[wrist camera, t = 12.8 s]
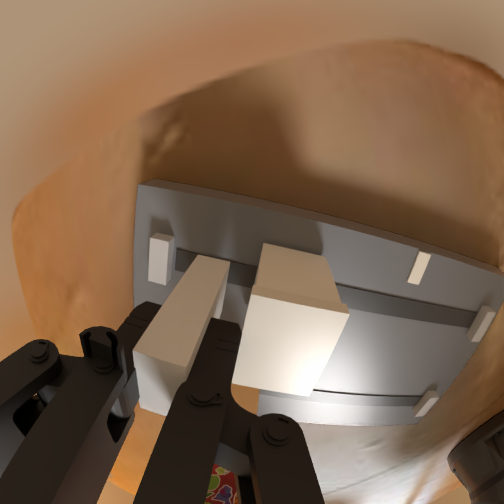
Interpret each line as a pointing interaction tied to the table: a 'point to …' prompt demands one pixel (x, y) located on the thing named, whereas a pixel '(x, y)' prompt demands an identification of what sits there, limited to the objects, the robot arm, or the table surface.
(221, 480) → the smoothie
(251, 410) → the orange fader
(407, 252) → the fader console
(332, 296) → the cream fader
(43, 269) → the table surface
